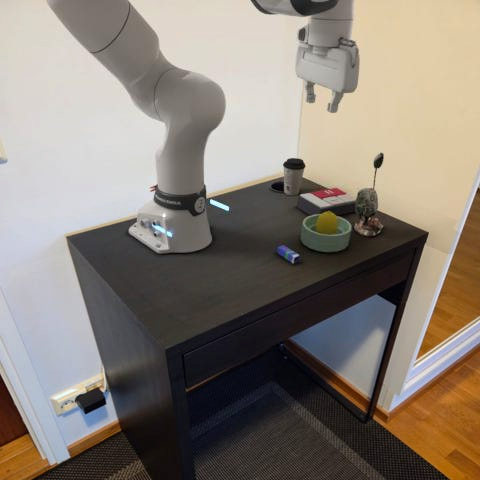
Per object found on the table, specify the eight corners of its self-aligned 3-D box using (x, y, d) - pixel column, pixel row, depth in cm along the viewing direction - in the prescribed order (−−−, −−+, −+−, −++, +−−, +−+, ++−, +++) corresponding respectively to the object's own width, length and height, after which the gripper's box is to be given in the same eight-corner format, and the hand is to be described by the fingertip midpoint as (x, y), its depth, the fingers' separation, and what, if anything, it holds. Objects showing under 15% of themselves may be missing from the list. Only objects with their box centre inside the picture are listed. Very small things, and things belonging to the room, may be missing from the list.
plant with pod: (340, 229, 121) (353, 155, 109) (368, 219, 126) (384, 148, 114) (361, 241, 116) (378, 165, 104) (391, 231, 121) (410, 157, 109)
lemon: (326, 247, 112) (331, 218, 107) (309, 239, 115) (313, 210, 110) (339, 240, 115) (345, 211, 110) (323, 233, 118) (327, 204, 113)
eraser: (293, 264, 106) (294, 257, 105) (277, 254, 110) (277, 246, 108) (299, 262, 107) (300, 254, 106) (283, 251, 111) (283, 244, 109)
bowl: (292, 243, 114) (293, 225, 111) (315, 227, 122) (317, 210, 119) (334, 258, 109) (337, 240, 105) (355, 240, 116) (359, 223, 113)
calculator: (361, 199, 129) (322, 206, 122) (358, 213, 131) (319, 221, 124) (336, 186, 136) (297, 192, 129) (333, 199, 138) (295, 206, 132)
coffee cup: (285, 197, 137) (288, 165, 131) (277, 189, 142) (279, 157, 136) (306, 195, 139) (310, 163, 133) (296, 187, 144) (300, 156, 138)
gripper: (372, 40, 85) (359, 117, 94) (317, 29, 100) (310, 96, 109) (345, 41, 83) (334, 119, 92) (293, 30, 98) (287, 98, 107)
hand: (320, 107), depth 100 cm, fingers open, 8 cm apart
